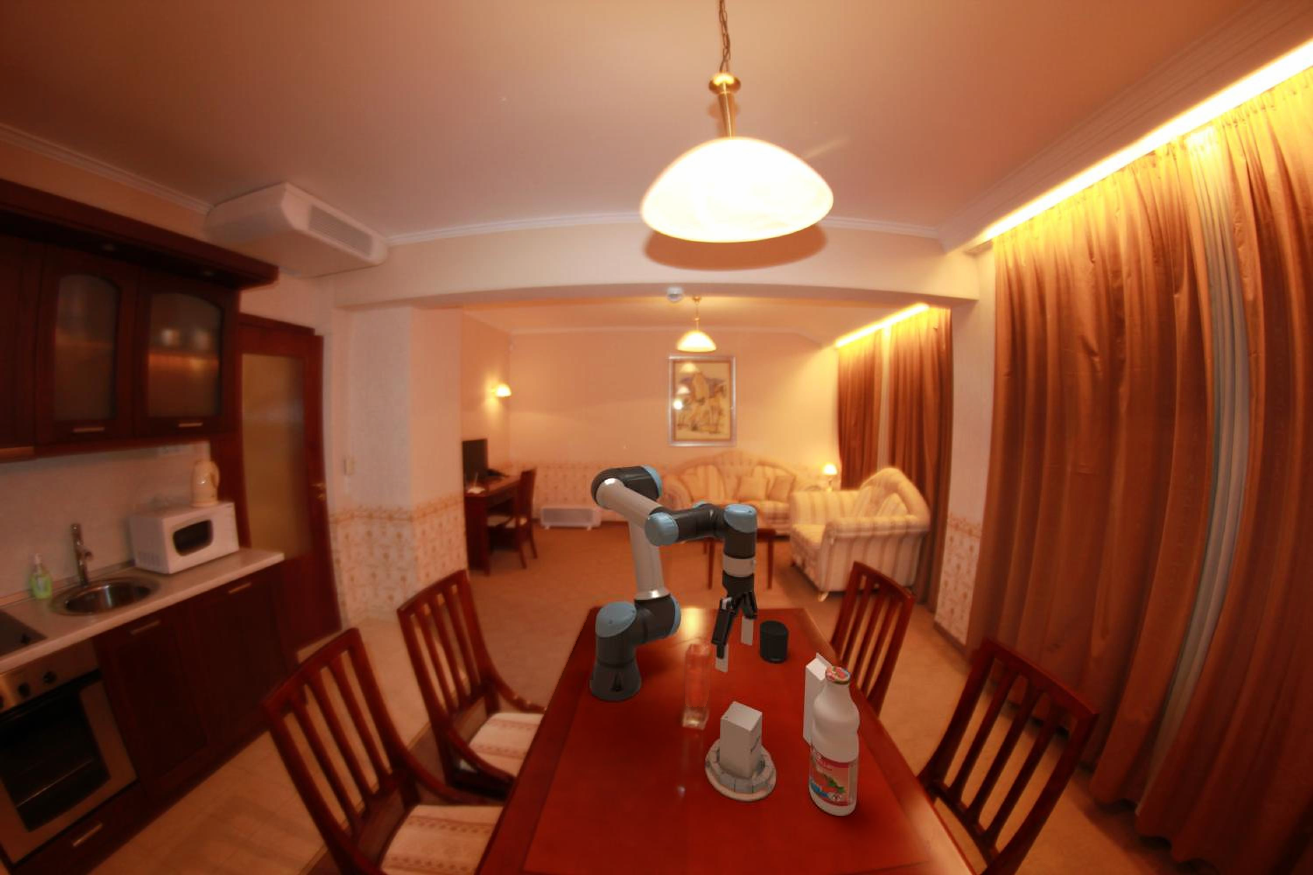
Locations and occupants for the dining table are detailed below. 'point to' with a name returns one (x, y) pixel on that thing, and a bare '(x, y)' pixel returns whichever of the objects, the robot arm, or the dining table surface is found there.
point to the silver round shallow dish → (741, 788)
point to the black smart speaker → (773, 641)
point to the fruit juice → (834, 746)
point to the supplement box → (740, 741)
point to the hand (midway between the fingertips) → (734, 655)
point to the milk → (813, 691)
